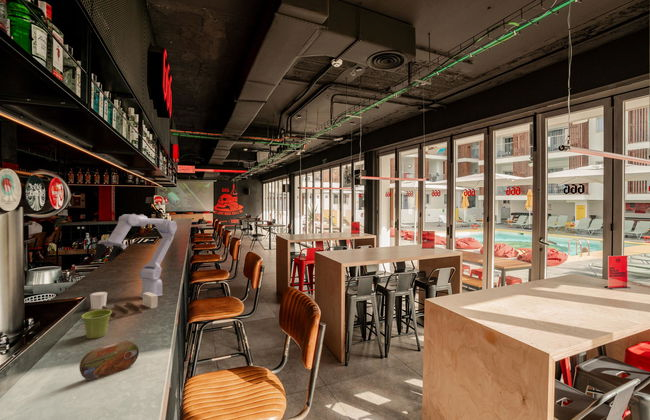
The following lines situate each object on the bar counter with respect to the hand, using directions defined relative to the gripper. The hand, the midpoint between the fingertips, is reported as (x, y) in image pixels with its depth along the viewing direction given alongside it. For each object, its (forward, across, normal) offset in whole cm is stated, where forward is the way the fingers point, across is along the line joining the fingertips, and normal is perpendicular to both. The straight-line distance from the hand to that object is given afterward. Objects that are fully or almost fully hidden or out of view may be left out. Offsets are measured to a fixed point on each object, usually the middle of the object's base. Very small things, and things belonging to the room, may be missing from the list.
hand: (102, 260), depth 143 cm
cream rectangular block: (+12, +16, +25) cm, 32 cm away
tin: (+41, +50, -21) cm, 68 cm away
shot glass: (+18, -5, +18) cm, 26 cm away
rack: (+20, +10, +14) cm, 26 cm away
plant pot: (+31, +23, -4) cm, 39 cm away
